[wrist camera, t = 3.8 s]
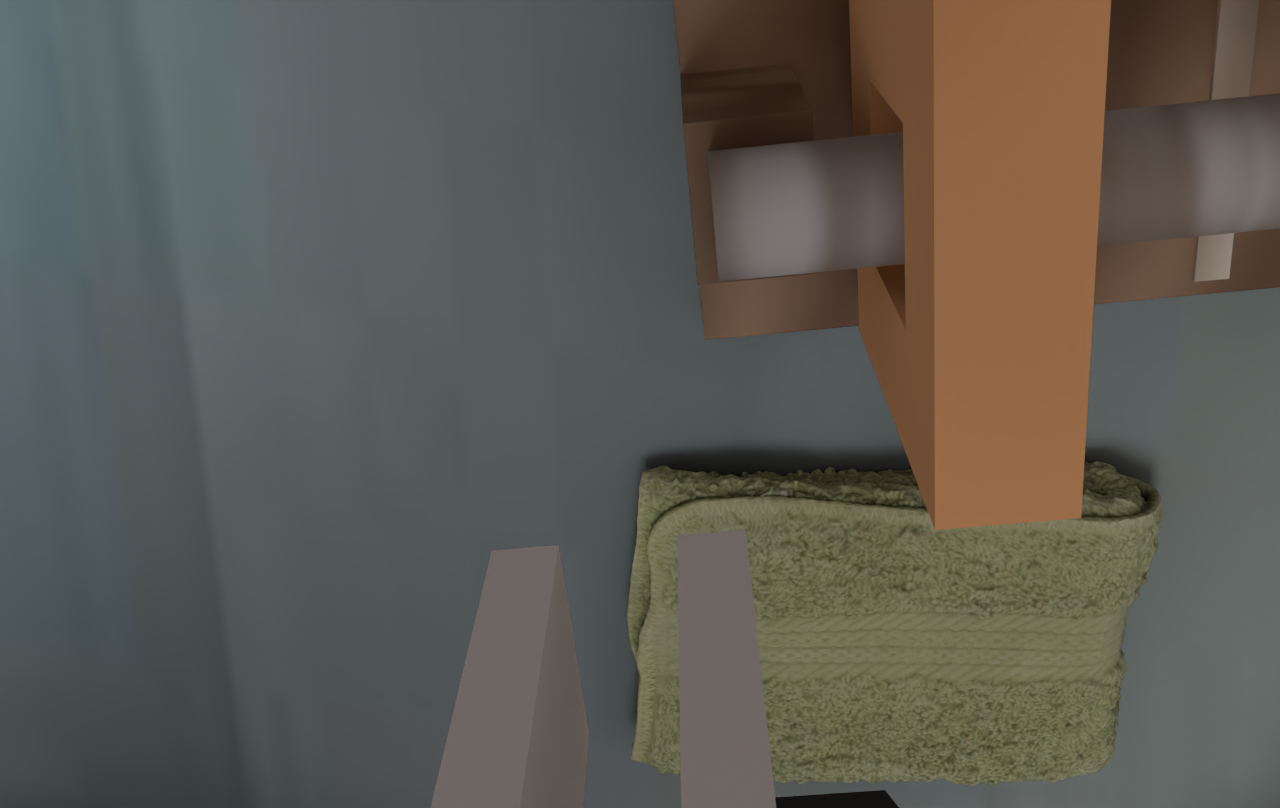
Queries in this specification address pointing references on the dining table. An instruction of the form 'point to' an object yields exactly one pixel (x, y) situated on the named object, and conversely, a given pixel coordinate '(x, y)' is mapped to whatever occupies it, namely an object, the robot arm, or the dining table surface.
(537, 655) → the robot arm
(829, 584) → the washcloth
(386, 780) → the dining table surface
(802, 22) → the rod stand
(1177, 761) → the dining table surface
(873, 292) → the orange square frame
